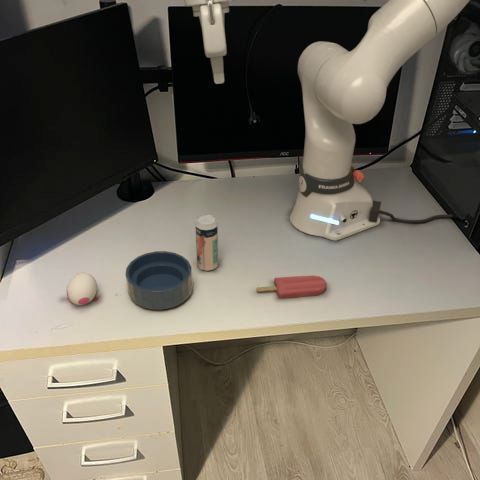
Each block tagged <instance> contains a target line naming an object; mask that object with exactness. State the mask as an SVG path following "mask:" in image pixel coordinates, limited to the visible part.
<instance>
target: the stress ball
mask: <svg viewBox="0 0 480 480" xmlns="http://www.w3.org/2000/svg"><path fill="white" fill-rule="evenodd" d="M65 290H66V291H65V292H66V296H67V300H69V301H70V302H71V303H72V304H74V305H77V306H83V305H87V304H89V302H92V300H93V299H95V300H96V301H95V302H98V299H99V297H95V296H96V295H97V293H98V292H97V291H98V283H97V280H96V278H95V277H94V275H92V274H91V273H88V272H79V273H76V274H74V275H73V276H72V277H71V278H70V279H69V281H68V283H67V285H66V289H65Z"/></svg>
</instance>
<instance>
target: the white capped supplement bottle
mask: <svg viewBox="0 0 480 480" xmlns="http://www.w3.org/2000/svg"><path fill="white" fill-rule="evenodd" d="M218 225H219V223H218V220H217V218H216V217H215V216H214V215H212V214H207V213H205V214H201V215H199V216H197V217H196V220H195V222H194V226H195V243H196V245H195V247H196V266H197V268H198V269H200V270H202V271H212V270H215V269H216V268H217V267H218V266H219V242H218V241H219V238H218V237H219V233H218V232H219V231H218V230H219V229H218Z"/></svg>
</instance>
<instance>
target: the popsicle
mask: <svg viewBox="0 0 480 480" xmlns="http://www.w3.org/2000/svg"><path fill="white" fill-rule="evenodd" d="M273 284H274V285H272V286H260V287H259V286H258V287H257V288H256V292H259V293H260V292H273V291H274V292H275V291H276V294H277V298H278V299H290V298H300V297H303V298H304V297H313V296H320V295H322V294H324V293H325V291H327V286H328V284H327V281H326V280H325V278H323V277H321V276H319V275H298V276H284V277H283V276H281V277H275V278H274V280H273Z"/></svg>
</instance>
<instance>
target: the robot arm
mask: <svg viewBox="0 0 480 480" xmlns="http://www.w3.org/2000/svg"><path fill="white" fill-rule="evenodd" d="M183 1H184V6H185V7H192V13H193V17H198V18H199V23H200V27H201V33H202V41H203V49H204V54H205V55H204V56H205V58H210V64H211V69H212V75H213V82H214V84H216V85H219V84H220V85H221V84H224V83H225V73H224V57H225V56H226V55H227V52H228V51H227V50H228V49H227V39H226V31H225V14H227V13H230V7H229V6H230V5H229V2H233V1H234V0H183ZM469 2H470V0H388V1H386V3H384V4H383V5H382V6H381V7H380V8H379V9H377V10H376V11H375V12H374V13H373V14H372V15H371V17H370V19H369V20H368V23H367V30H366V32H365V34H364V36H363V37H362V38H361V40H360V41H359V43H358V44H357V45H356V47H354V48H353V49H352V50H350V51H349V50H347V48H344V47H343V46H341V45H340V44H338V43H335V42H331V41H323V40H321V41H320V40H319V41H316V42H313V43H310V44H309V45H308V46H307V47H306V48H305V49H304V50H303V51H302V53H301V55H300V56H299V58H298V62H297V75H298V78H299V81H300V85H301V92H302V104H303V114H304V115H303V116H304V126H305V128H304V130H305V132H304V133H305V134H304V136H305V137H304V148H303V157H302V163H301V165H300V168H299V175H298V192H297V195H296V200H295V203H294V206H293V208H292V211H291V213H290V215H289V221H290V223H291V224H292V226H293V227H294V228H295V229H297V230H298V231H300V232H302V233H304V234H307V235H311V236H317V237H322V238H325V239H328V240H330V241H340V240H342V239H345V238H347V237H350V236H353V235H355V234H359V233H361V232H363V231H366V230H368V229H371V228H374V227H377V226H379V225H380V223H381V217H380V215H383V216H386V217H390V219H391V220H392V221H394V222H397V223H403V224H423V223H429V222H431V221H433V220H436V219H446V218H448V219H449V218H455V219H456V217H453V216H452V214H453V213H452V214H451V213H450V214H448V213H447V214H436V215H432V216H430V217H428V218H424V219H402V218H399V217H398V218H397V217H395V216H394V214H393V213H390V212H389V211H384V210H381V204H382V201H378V200H373V198H372V196H371V194H370V193H369V191H367V189H366V188H365V187H364V186H362V185H361V184H360V182H363V180H364V178H365V174H364V173H363V172H361V170H358V169H357V170H356V168H355V167H354V166H353V165H352V161H353V156H354V150H355V146H356V133H355V128H354V125H361V124H365V123H367V122H370V121H371V120H372V119H373V118H375V117H377V115H378V114H379V112H380V111H381V109H382V108H383V106H384V104H385V101H386V96H387V89H388V87H389V84H390V83H391V81H392V79H393V78H394V76H395V75H396V73H398V71H399V70H400V68H401V67H402V66H403V65H404V64H405V63H406V62H407V61H409V60H410V58H412V57H413V56H414V55H415V54H417V52H419V50H420V49H422V48H423V47H424V46H425V45H426V44H428V43H429V42H430V41H431V40H432V39H434V37H436V36H437V35H438V34H439V33H441V32H442V31H443V30H444V29H445V28H446V27H447V26H448V25H449V24H450V23H451V22H452V21H453V20H454V19H455V18H456V17H457V16H458V14H460V13H461V11H463V9H464V8H465V7H466V5H467V4H468V3H469ZM353 124H354V125H353ZM379 214H380V215H379Z"/></svg>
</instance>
